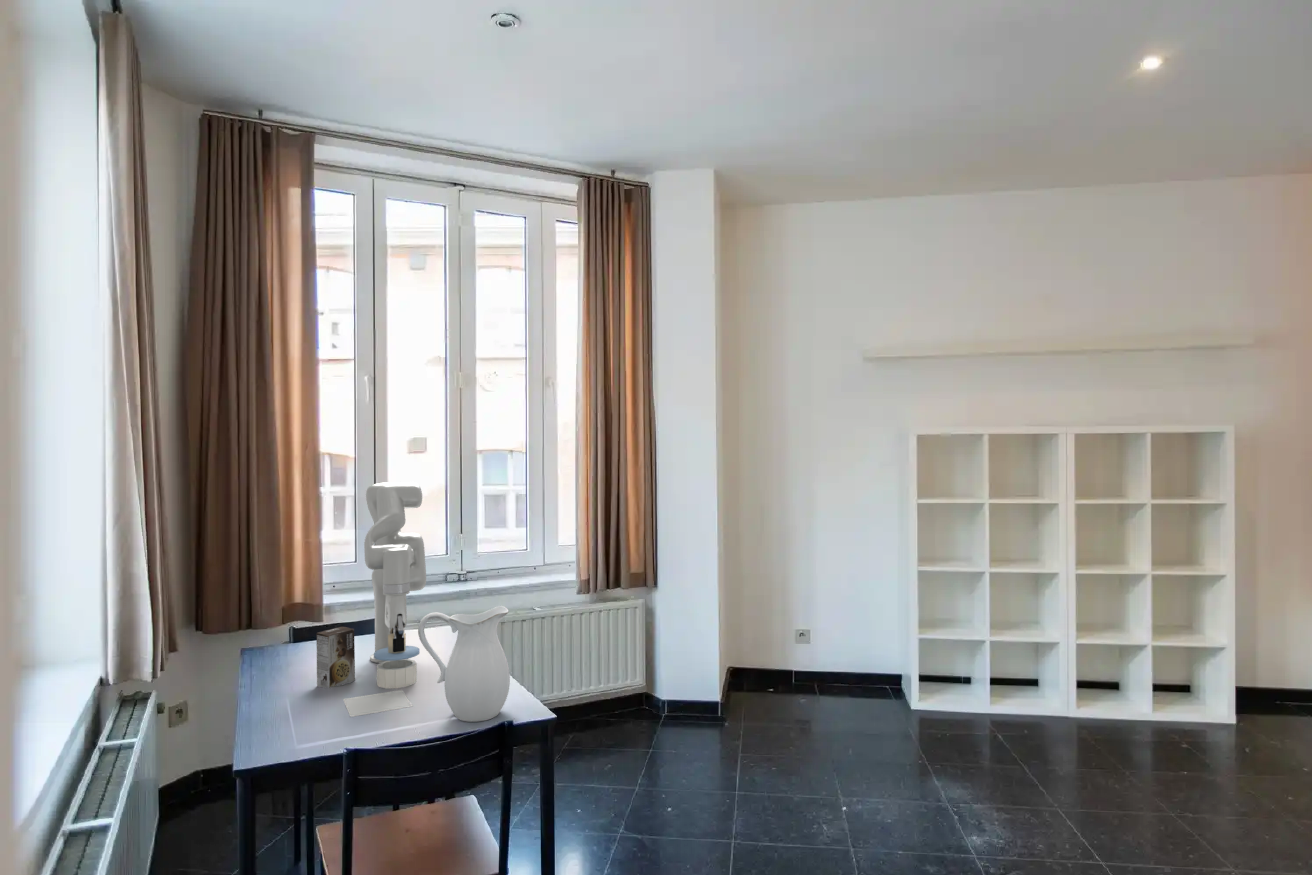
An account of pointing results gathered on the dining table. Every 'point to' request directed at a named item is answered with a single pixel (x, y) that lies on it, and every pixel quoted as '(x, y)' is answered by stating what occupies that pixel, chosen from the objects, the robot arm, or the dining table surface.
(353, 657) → the coffee box
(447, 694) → the pitcher
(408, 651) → the lid
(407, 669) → the bowl
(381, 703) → the mat
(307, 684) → the dining table surface
